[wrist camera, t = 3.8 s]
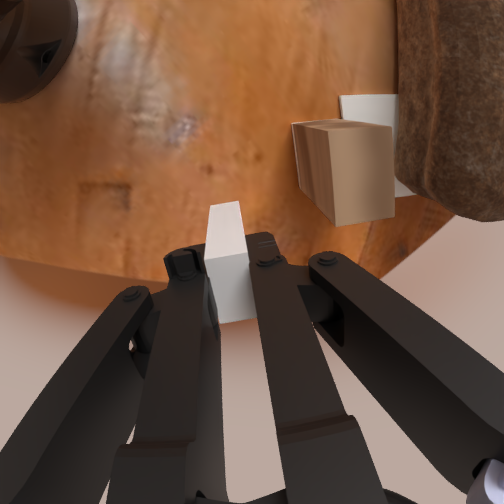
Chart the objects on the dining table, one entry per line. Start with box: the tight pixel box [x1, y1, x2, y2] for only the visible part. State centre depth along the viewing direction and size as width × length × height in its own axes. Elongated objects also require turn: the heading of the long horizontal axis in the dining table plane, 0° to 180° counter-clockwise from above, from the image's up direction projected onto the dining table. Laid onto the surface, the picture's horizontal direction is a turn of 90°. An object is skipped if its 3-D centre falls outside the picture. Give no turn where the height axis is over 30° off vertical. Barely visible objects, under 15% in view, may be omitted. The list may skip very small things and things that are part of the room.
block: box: [291, 119, 395, 227], centre depth 27 cm, size 5×7×12 cm
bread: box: [394, 0, 504, 222], centre depth 21 cm, size 15×32×16 cm, turn 179°
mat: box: [339, 94, 417, 197], centre depth 33 cm, size 16×12×1 cm
